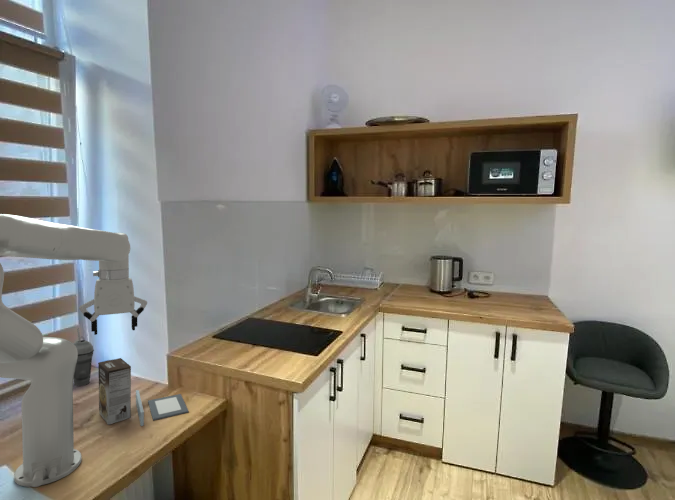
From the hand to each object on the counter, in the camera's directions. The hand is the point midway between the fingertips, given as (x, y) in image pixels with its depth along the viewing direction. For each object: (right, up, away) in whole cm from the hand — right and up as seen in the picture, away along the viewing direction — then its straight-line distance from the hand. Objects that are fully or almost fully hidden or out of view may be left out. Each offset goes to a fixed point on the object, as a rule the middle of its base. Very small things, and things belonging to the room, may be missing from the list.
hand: (115, 331), depth 111 cm
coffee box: (-1, -26, +2) cm, 26 cm away
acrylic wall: (+5, -26, +3) cm, 27 cm away
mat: (+12, -26, +8) cm, 30 cm away
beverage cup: (-25, -24, +22) cm, 41 cm away
